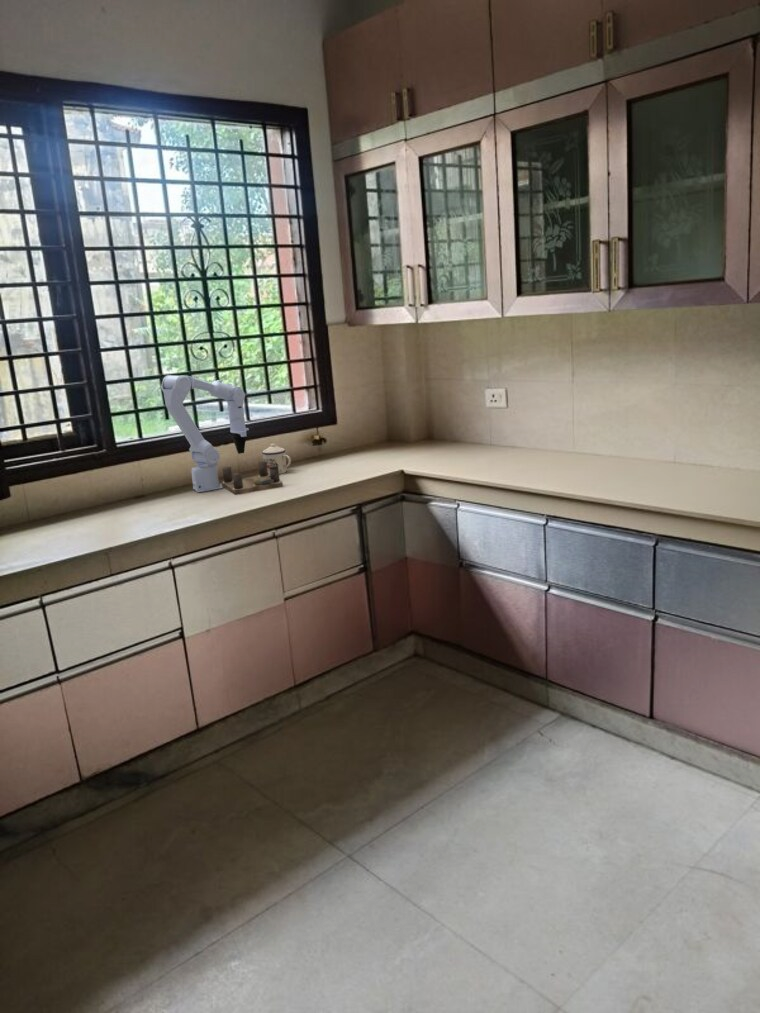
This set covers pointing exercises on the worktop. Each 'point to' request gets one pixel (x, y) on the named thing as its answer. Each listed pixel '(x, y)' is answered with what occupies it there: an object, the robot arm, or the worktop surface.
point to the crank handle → (273, 476)
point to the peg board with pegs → (247, 480)
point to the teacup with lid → (276, 458)
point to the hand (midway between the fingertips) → (241, 453)
